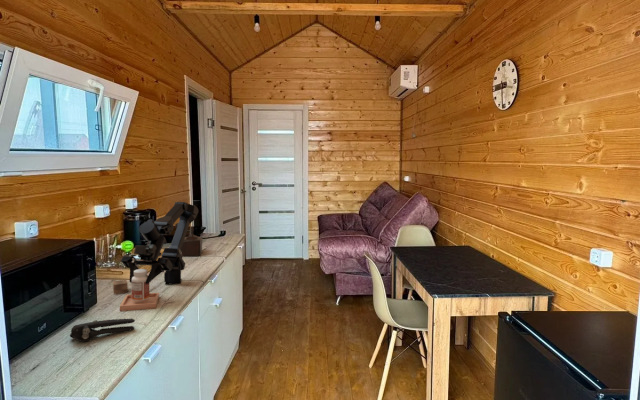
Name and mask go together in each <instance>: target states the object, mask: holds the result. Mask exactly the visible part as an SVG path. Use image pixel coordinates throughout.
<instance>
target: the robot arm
mask: <svg viewBox="0 0 640 400" xmlns="http://www.w3.org/2000/svg"><path fill="white" fill-rule="evenodd" d="M198 215H199V208H198V207H197V206H196V205H193V204H191V203H188V202H186V201H175V202H174V205H173V206H172V207H171V209H169V211H168V212H167V213H166V214H165V215H164V216H161V217H159V218H157V219H156V220H153V219H148V220H147V221H145V222H143V223H142V224H141V225H139V227H138V231H139V233H141V236H143V238H144V239H145V241H147V244H146V245H139V244H138V245H135V246H134V251H133V254H134V255H137V257H138V258H139V259H136V257H135V256H134V255H127V254H125V255H123V256H122V257H121V259H120V262H121V263H122V264H123V265H124V267H125V268H127V269H129V283H130V284H132V277H133V276H134V270H137V269H140V268H139V267H138V266H139V265H140V266H151V268H150V271H149V273H148V274H147V275H148V277H147V280H146V284H148V283H149V284H150V283H151V281H153V280H155V278H156V277H157V276H159V275H160V274H161V273H163V276H164V277H163V278H164V279H163V281H164V282H163V283H164V285H166V286H167V285H180V284H181V285H182V270H185V268H186V262H185V261H184V259H183V258H184V257H183V256H182V245H183V242H184V239H185V237H187V233H188V232H187V231H188V230H189V227H190V224H191V223H192V222H194V221H195V220H196V218H197V216H198ZM178 219H179V221H178V222H177V220H178ZM176 222H177V223H178V226H177V228H176V229H175V232H174V235H173V238H172V240H171V243H170V246H169V247H165V248H164V249H163V247H164V244H165V245H166V244H167V240H166V237H165V235H166V236H168V235H169V236H170V235H171V233H173V231H174V227H175V224H176ZM162 249H163V252H161V251H162Z"/></svg>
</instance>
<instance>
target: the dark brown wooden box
mask: <svg viewBox="0 0 640 400" xmlns="http://www.w3.org/2000/svg"><path fill="white" fill-rule="evenodd" d="M178 223H179V222H175V223H174V227H175V228H176V229H177V226H178ZM189 232H191V233H190V234H189V235H188V236H185V239H184V242H183V245H182V248H181V253H182V256H183V257H182V258H185V257H186V258H188V257H189V258H193V257H198V258H199V256H200V257H202V256H201V255H202V254H203V236H197V235H195V234H194V226H190V229H188V231H187V233H189Z"/></svg>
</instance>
